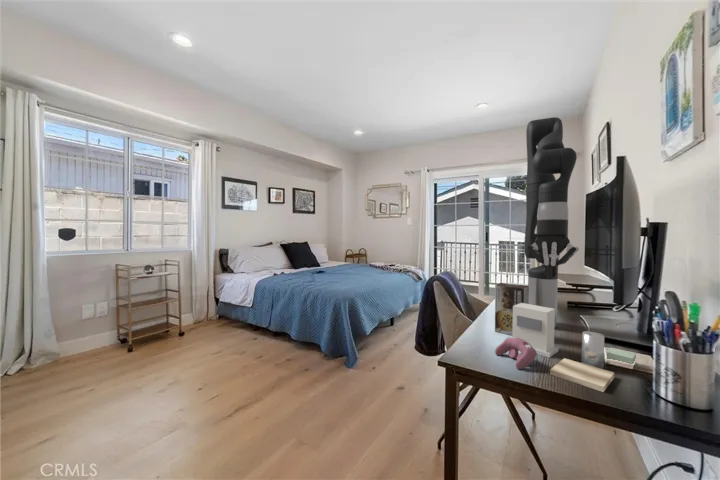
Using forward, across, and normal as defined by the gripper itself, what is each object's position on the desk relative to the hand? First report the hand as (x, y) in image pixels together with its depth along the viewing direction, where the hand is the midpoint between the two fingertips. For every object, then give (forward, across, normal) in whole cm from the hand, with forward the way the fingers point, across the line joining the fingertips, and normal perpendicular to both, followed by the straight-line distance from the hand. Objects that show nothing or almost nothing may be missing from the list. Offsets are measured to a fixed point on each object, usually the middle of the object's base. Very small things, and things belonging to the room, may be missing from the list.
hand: (550, 278), depth 86 cm
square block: (+21, -15, -3) cm, 26 cm away
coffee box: (+21, +13, -5) cm, 25 cm away
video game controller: (+21, +2, +17) cm, 27 cm away
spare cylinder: (+20, -11, +4) cm, 24 cm away
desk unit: (+20, +3, +4) cm, 21 cm away
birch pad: (+20, -11, +13) cm, 27 cm away
